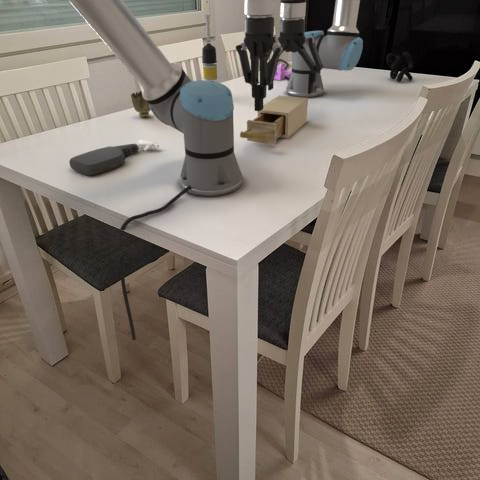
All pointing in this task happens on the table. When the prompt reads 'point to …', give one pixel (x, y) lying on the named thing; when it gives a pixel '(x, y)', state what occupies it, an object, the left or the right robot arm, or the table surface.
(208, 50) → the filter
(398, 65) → the squiggle
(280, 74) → the bracket
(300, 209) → the table surface
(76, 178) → the table surface
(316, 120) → the table surface
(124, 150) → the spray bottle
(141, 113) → the olive irregular piece
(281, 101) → the wooden box
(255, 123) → the drawer
